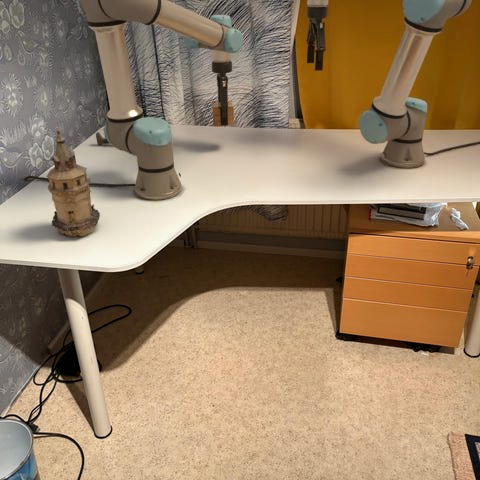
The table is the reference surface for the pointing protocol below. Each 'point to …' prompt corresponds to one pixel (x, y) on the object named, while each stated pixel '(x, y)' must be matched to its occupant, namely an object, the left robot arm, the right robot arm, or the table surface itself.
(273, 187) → the table surface
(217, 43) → the left robot arm
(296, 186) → the table surface
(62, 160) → the miniature building
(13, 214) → the table surface
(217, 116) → the block
